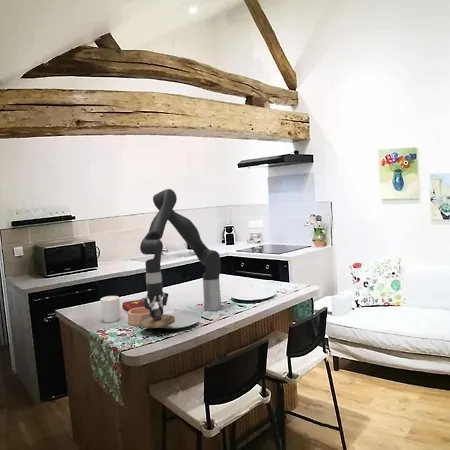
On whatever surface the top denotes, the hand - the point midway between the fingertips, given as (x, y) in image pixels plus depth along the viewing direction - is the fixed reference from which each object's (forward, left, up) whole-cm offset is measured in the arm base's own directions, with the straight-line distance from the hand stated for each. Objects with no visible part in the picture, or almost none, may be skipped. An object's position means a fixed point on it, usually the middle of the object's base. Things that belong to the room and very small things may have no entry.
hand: (156, 316), depth 214 cm
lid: (0, 0, -3) cm, 3 cm away
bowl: (+12, -15, -7) cm, 20 cm away
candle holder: (+30, -19, -8) cm, 36 cm away
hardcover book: (+20, -37, -8) cm, 43 cm away
